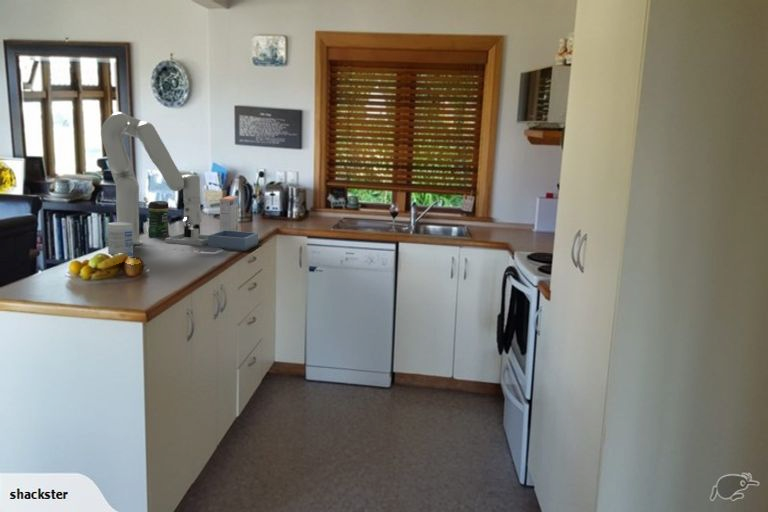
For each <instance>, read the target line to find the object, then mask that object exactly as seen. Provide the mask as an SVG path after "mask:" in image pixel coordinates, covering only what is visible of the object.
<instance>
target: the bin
mask: <svg viewBox="0 0 768 512" xmlns="http://www.w3.org/2000/svg"><path fill="white" fill-rule="evenodd" d="M207 235H208V243H207V244H208V247H215V248H221V250H226V251H227V250H229V251H239V252H246V251H248V250H251V249H253V248H255V247H257V246H258V245H259V233H258V232H253V231H252V232H250V231H239V230H238V231H228V230H222V231H220V230H219V231H217V232H214V233H212V234H207Z"/></svg>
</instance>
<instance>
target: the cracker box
mask: <svg viewBox="0 0 768 512" xmlns="http://www.w3.org/2000/svg"><path fill="white" fill-rule="evenodd" d="M222 230H228V231H239V196H233V195H228V196H225V197H221V198H219V231H222Z"/></svg>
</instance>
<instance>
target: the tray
mask: <svg viewBox="0 0 768 512" xmlns="http://www.w3.org/2000/svg"><path fill="white" fill-rule="evenodd" d="M208 235H209V234H201V233H200V234H199V241H194V240H184V232H181V233H177V234H175V235H171V236H167V237H166V238H165V237H164V242H165V243H166V244H174V245H176V244H177V245H187V246H189V245H190V246H201V247H202V246H205V245H207V244H208Z"/></svg>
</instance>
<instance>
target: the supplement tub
mask: <svg viewBox="0 0 768 512" xmlns="http://www.w3.org/2000/svg"><path fill="white" fill-rule="evenodd" d="M133 245H134V244H133V227H132V223H126V222H117V221H116V222H114V221H113V222H109V223H107V253H108V254H118V253H125V254H127V255H128V256H129V257H134V246H133Z"/></svg>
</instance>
